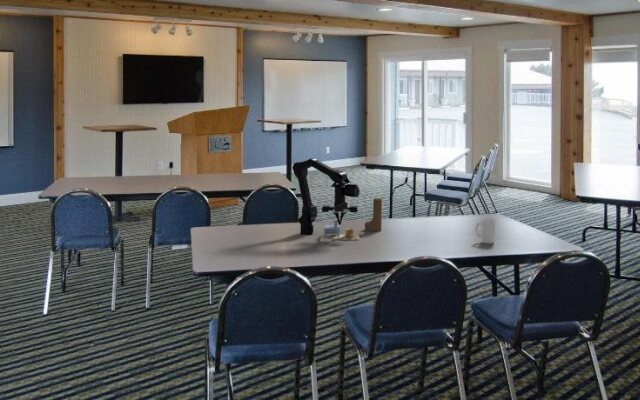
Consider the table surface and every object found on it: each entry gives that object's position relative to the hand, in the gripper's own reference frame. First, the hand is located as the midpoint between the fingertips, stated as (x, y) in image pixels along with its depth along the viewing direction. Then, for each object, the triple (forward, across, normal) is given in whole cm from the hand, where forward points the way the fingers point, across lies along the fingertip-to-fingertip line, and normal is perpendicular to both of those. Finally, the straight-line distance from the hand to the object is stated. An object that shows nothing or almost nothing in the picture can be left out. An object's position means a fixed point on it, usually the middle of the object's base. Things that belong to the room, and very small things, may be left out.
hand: (339, 225), depth 384 cm
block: (+7, +5, 0) cm, 9 cm away
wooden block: (+7, +17, +23) cm, 30 cm away
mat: (+7, -7, -8) cm, 13 cm away
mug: (+7, +75, -3) cm, 76 cm away
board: (+7, 0, 0) cm, 7 cm away
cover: (+6, -4, 0) cm, 7 cm away
